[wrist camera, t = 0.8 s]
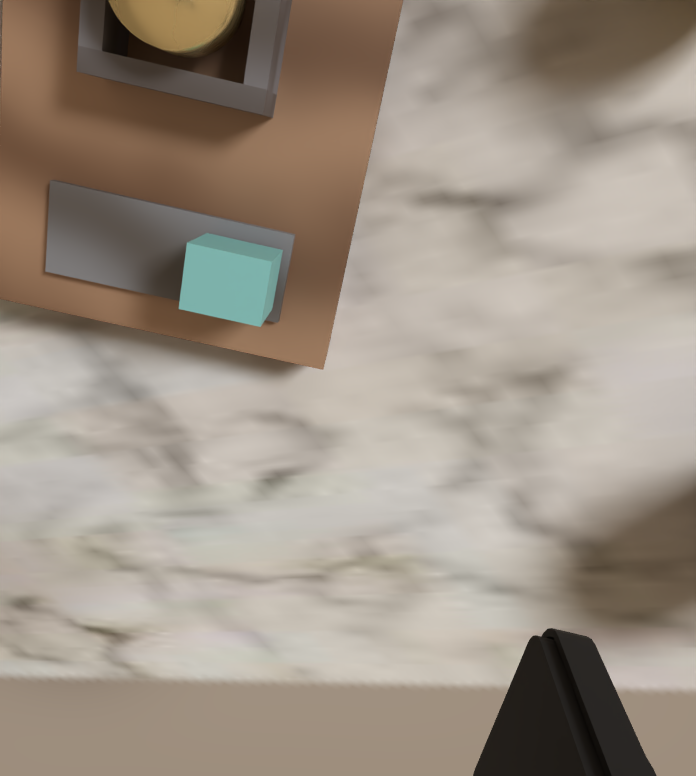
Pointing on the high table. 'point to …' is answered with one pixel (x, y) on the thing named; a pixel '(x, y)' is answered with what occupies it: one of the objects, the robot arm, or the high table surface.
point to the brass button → (181, 23)
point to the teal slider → (229, 279)
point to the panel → (187, 162)
